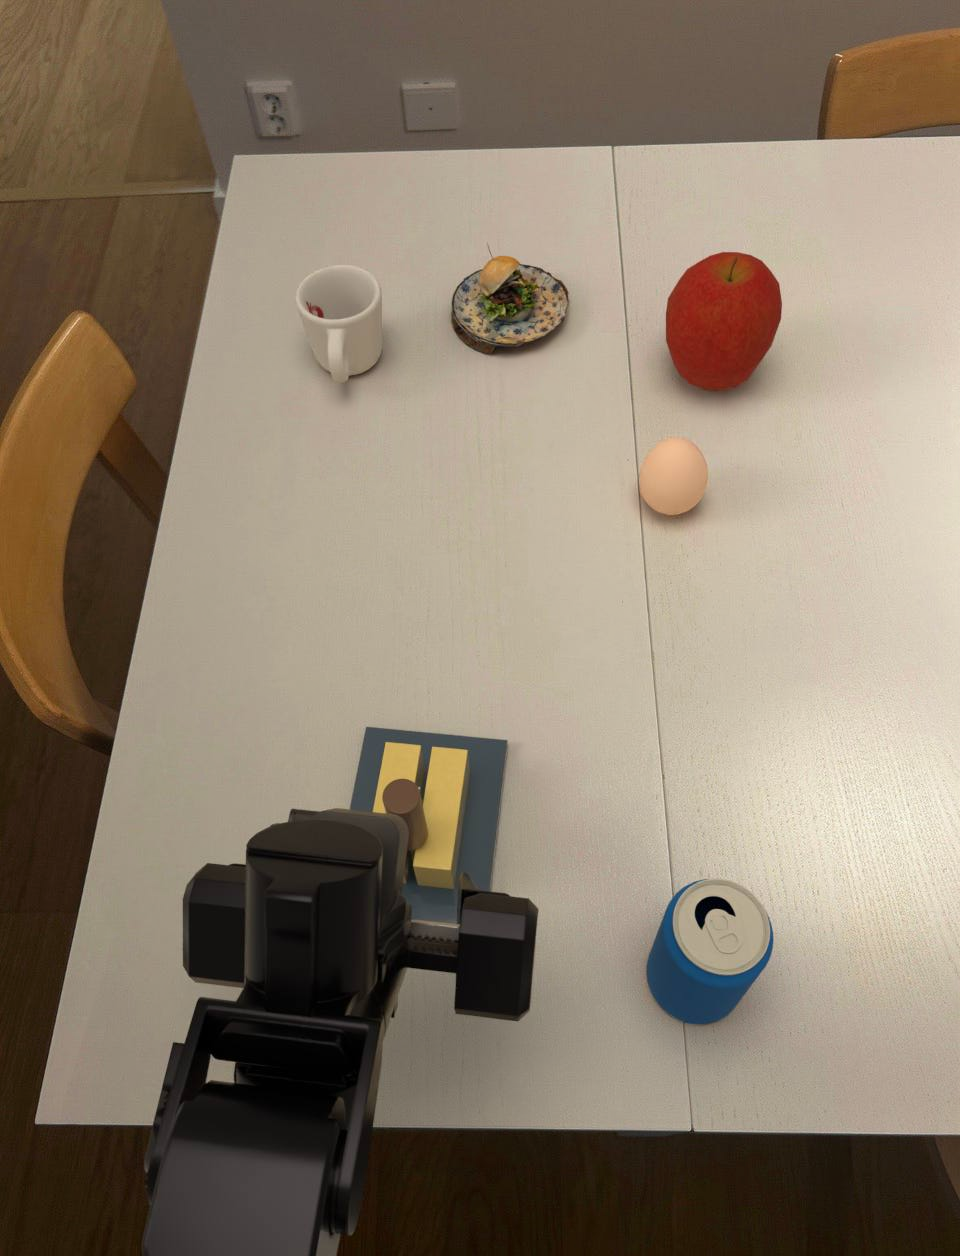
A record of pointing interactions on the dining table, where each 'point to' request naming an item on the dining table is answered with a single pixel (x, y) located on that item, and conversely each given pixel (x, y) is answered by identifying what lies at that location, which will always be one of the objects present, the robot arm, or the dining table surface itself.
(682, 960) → the beverage can
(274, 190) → the dining table surface
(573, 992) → the dining table surface
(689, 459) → the egg
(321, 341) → the cup
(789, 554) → the dining table surface
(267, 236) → the dining table surface
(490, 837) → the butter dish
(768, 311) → the apple
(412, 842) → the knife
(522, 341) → the burger
